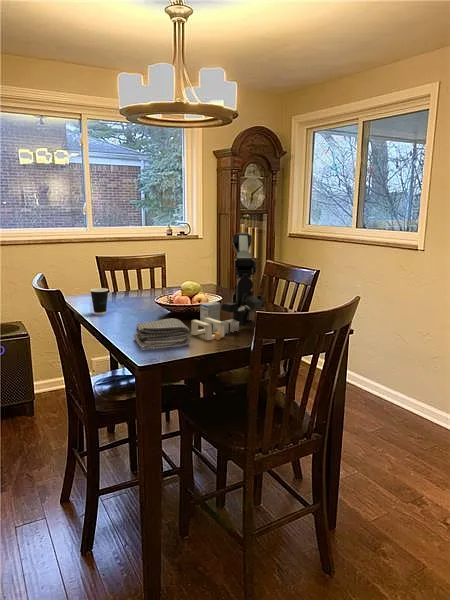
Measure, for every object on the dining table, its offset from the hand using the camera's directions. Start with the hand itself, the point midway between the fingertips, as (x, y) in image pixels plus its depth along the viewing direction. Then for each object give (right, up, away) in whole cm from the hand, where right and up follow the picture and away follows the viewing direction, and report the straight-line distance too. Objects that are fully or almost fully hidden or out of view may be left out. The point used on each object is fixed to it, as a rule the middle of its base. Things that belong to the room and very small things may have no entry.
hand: (242, 325), depth 184 cm
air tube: (-7, -2, -5) cm, 9 cm away
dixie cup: (-64, +4, +22) cm, 68 cm away
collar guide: (-14, -3, -11) cm, 18 cm away
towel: (-30, -5, -20) cm, 36 cm away
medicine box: (-13, 0, +7) cm, 15 cm away
